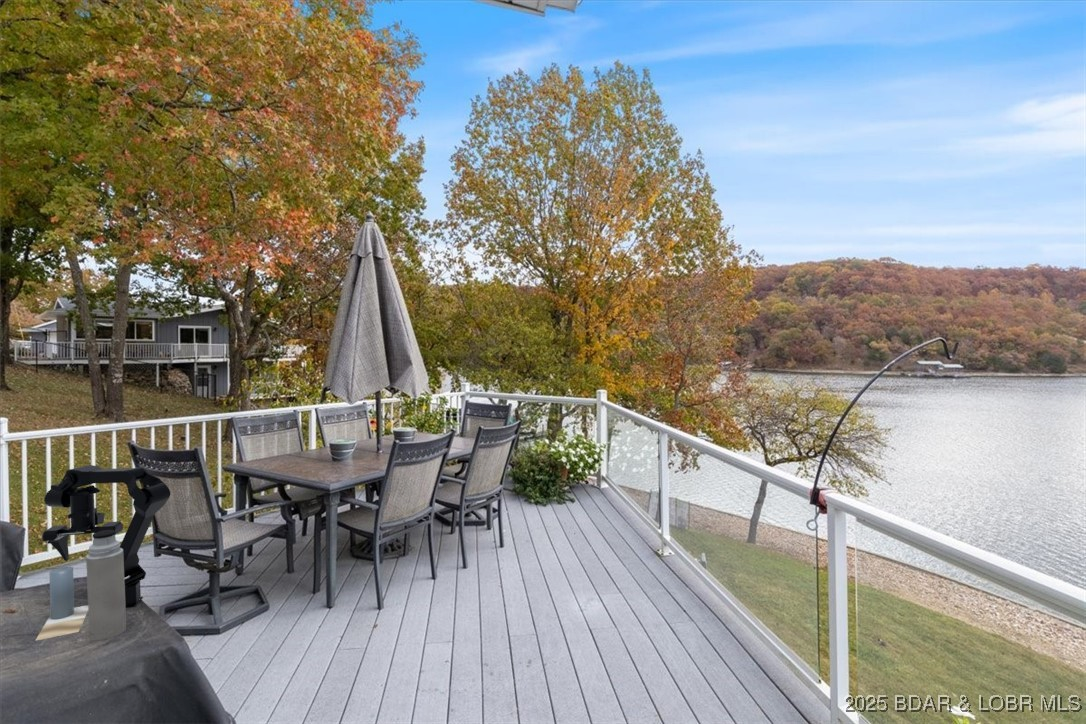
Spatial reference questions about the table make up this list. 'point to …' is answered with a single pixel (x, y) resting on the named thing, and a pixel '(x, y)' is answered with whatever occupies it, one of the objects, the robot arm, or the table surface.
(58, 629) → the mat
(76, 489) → the robot arm
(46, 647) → the table surface
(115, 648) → the table surface
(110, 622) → the thermos bottle
